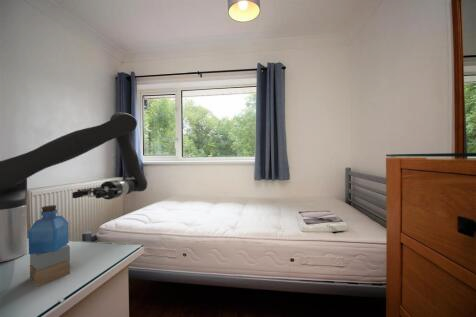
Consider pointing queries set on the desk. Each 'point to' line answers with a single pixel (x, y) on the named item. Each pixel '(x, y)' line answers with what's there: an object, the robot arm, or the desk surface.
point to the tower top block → (50, 258)
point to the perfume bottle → (48, 232)
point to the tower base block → (49, 272)
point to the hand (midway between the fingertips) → (84, 195)
